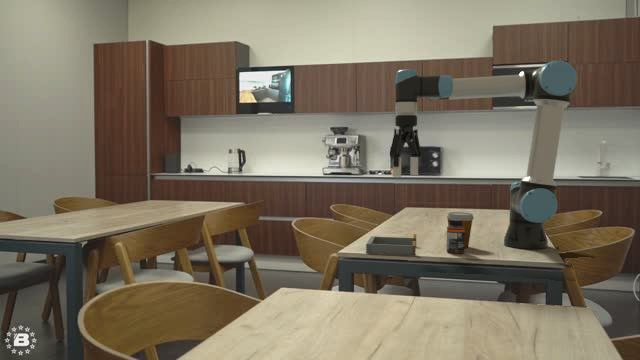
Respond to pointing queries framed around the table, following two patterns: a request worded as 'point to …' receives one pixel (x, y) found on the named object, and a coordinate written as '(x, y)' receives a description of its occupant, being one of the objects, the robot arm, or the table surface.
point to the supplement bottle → (455, 237)
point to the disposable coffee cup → (463, 223)
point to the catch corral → (391, 245)
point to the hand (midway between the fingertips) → (405, 175)
